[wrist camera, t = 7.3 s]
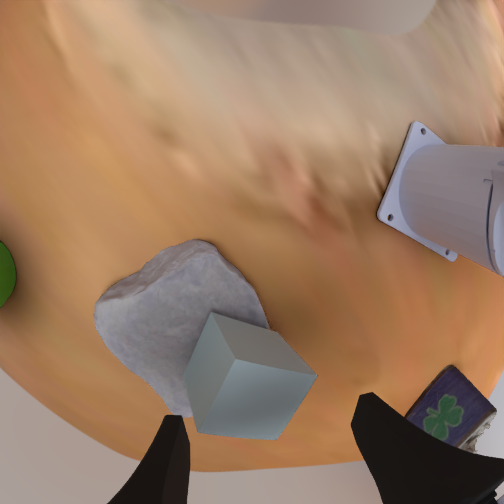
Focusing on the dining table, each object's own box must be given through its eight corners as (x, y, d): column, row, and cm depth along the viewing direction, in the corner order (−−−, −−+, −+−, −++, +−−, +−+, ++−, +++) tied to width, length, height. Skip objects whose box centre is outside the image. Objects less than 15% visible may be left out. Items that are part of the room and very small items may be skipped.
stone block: (204, 217, 20) (90, 294, 19) (218, 226, 16) (74, 324, 14) (280, 338, 24) (184, 399, 23) (306, 369, 20) (191, 438, 18)
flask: (409, 422, 28) (448, 482, 18) (396, 421, 27) (435, 485, 17) (457, 365, 26) (509, 419, 16) (446, 361, 25) (502, 420, 15)
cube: (277, 332, 18) (317, 375, 13) (247, 389, 18) (276, 440, 13) (211, 311, 16) (235, 358, 11) (183, 375, 16) (197, 432, 12)
